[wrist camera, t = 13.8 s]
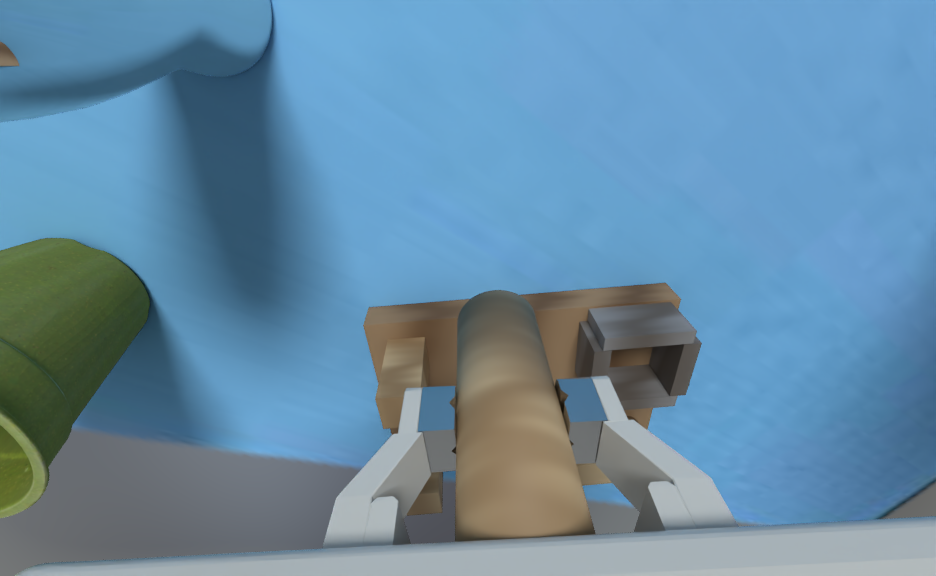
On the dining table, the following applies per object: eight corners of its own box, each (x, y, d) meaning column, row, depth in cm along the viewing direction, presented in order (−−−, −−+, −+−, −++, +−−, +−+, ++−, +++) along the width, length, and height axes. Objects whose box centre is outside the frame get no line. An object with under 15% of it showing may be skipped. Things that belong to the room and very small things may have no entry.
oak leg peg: (536, 287, 14) (626, 574, 6) (534, 350, 16) (605, 639, 8) (453, 293, 14) (446, 584, 7) (460, 355, 16) (461, 647, 8)
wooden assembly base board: (665, 282, 26) (730, 351, 20) (633, 422, 33) (674, 503, 27) (368, 307, 26) (345, 383, 20) (401, 442, 33) (391, 527, 27)
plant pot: (-58, 281, 24) (-400, 438, 14) (26, 153, 20) (-354, 245, 11) (135, 386, 29) (-21, 553, 19) (229, 297, 25) (96, 449, 16)
